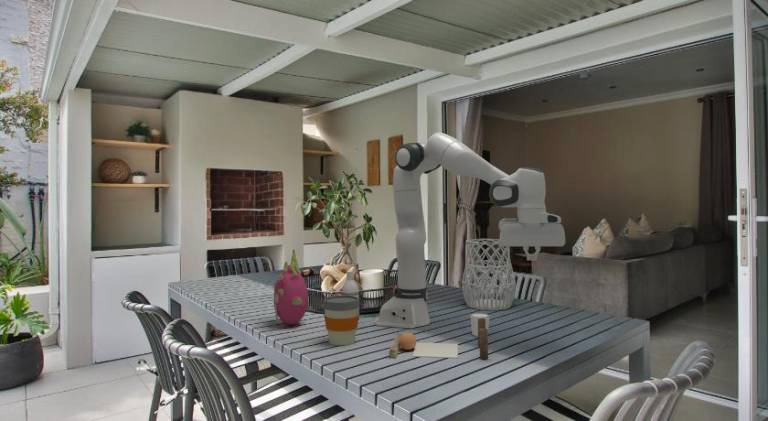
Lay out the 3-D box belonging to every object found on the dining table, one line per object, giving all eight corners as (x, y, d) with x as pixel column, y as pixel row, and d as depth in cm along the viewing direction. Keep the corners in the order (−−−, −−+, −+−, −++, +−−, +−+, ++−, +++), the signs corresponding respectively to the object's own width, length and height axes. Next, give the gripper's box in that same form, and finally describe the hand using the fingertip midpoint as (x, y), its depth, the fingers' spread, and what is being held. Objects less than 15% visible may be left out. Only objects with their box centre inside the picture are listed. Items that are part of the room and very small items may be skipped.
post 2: (479, 359, 145) (479, 330, 145) (479, 356, 148) (479, 328, 147) (488, 359, 145) (487, 330, 144) (487, 357, 147) (487, 328, 147)
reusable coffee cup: (341, 334, 175) (341, 293, 174) (367, 340, 167) (366, 298, 166) (316, 342, 165) (315, 299, 165) (342, 349, 157) (341, 304, 157)
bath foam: (340, 318, 199) (339, 270, 198) (355, 316, 202) (355, 269, 201) (345, 321, 192) (344, 272, 192) (361, 320, 195) (360, 271, 195)
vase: (452, 303, 224) (451, 239, 224) (493, 297, 235) (492, 237, 234) (483, 313, 202) (482, 243, 202) (527, 307, 213) (526, 240, 212)
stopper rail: (389, 357, 148) (389, 349, 148) (397, 340, 166) (396, 333, 166) (395, 358, 148) (395, 350, 148) (402, 340, 165) (402, 333, 165)
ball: (414, 353, 153) (397, 350, 154) (415, 347, 158) (399, 345, 159) (416, 337, 152) (399, 334, 153) (417, 331, 158) (401, 329, 159)
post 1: (478, 346, 157) (478, 320, 157) (477, 344, 160) (477, 318, 160) (485, 347, 157) (485, 320, 157) (485, 344, 160) (485, 318, 159)
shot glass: (478, 338, 167) (478, 318, 167) (466, 333, 174) (466, 314, 173) (493, 335, 171) (493, 316, 170) (481, 330, 177) (481, 312, 176)
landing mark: (412, 356, 149) (412, 355, 149) (416, 343, 163) (416, 342, 163) (457, 358, 147) (457, 357, 147) (457, 344, 160) (457, 343, 160)
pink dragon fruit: (268, 321, 194) (267, 248, 194) (300, 317, 201) (299, 246, 200) (280, 332, 179) (278, 252, 178) (314, 327, 185) (313, 250, 184)
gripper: (499, 218, 151) (499, 261, 152) (566, 217, 148) (566, 261, 148) (497, 217, 157) (498, 258, 158) (562, 216, 154) (562, 259, 155)
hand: (531, 260), depth 153 cm, fingers closed
